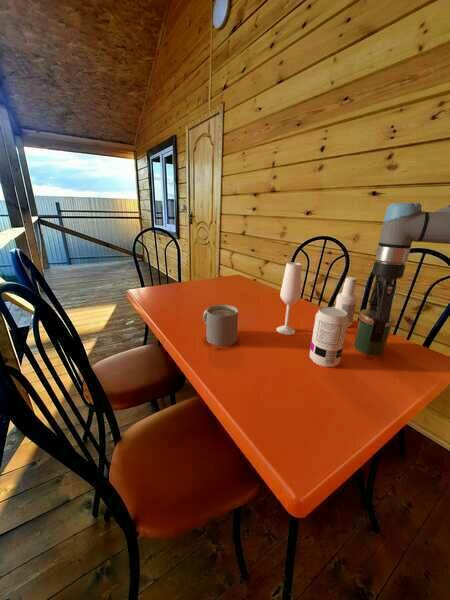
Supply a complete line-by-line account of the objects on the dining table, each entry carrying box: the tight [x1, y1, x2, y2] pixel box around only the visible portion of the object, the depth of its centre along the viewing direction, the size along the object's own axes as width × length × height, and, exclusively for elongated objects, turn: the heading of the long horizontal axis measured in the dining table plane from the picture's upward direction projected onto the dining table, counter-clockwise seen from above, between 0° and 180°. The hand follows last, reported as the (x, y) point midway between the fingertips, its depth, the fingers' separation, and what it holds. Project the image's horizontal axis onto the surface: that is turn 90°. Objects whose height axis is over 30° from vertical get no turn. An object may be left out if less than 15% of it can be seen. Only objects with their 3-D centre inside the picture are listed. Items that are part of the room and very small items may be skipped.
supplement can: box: [308, 306, 349, 368], centre depth 70 cm, size 8×8×15 cm
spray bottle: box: [334, 276, 358, 328], centre depth 94 cm, size 7×7×18 cm
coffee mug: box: [202, 304, 239, 347], centre depth 83 cm, size 13×10×10 cm
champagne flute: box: [275, 261, 303, 336], centre depth 86 cm, size 7×7×24 cm
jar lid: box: [358, 308, 395, 327], centre depth 76 cm, size 9×9×2 cm
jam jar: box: [353, 319, 392, 357], centre depth 78 cm, size 8×8×10 cm
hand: (372, 333), depth 78 cm, fingers open, 10 cm apart
